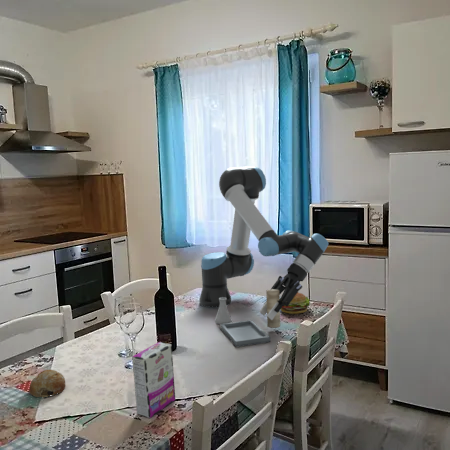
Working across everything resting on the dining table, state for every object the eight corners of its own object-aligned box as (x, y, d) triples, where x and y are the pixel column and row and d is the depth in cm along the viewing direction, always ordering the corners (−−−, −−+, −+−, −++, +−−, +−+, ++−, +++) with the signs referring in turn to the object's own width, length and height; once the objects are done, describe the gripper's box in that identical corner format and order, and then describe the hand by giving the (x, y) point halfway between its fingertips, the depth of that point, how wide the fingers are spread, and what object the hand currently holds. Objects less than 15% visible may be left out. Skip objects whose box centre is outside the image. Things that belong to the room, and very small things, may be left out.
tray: (220, 328, 187) (220, 324, 186) (251, 324, 190) (251, 319, 190) (236, 347, 168) (236, 341, 167) (270, 341, 171) (270, 336, 171)
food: (277, 315, 201) (277, 297, 200) (279, 305, 214) (278, 288, 213) (310, 316, 198) (310, 297, 197) (309, 306, 212) (309, 288, 211)
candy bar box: (162, 396, 134) (158, 341, 132) (176, 400, 131) (173, 344, 129) (135, 414, 124) (131, 355, 122) (149, 419, 122) (145, 359, 120)
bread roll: (32, 411, 135) (31, 392, 132) (27, 384, 143) (26, 365, 139) (67, 402, 140) (67, 383, 136) (61, 376, 148) (61, 358, 144)
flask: (230, 325, 191) (229, 301, 190) (213, 324, 192) (212, 300, 191) (233, 319, 198) (232, 296, 197) (216, 318, 199) (216, 295, 198)
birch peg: (265, 324, 184) (264, 290, 182) (277, 322, 185) (276, 288, 183) (270, 329, 179) (269, 293, 177) (282, 327, 180) (281, 291, 178)
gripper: (319, 278, 178) (284, 328, 173) (292, 269, 194) (259, 314, 189) (308, 266, 175) (271, 317, 170) (281, 258, 191) (247, 304, 186)
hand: (265, 315), depth 180 cm, fingers closed on birch peg, 5 cm apart
